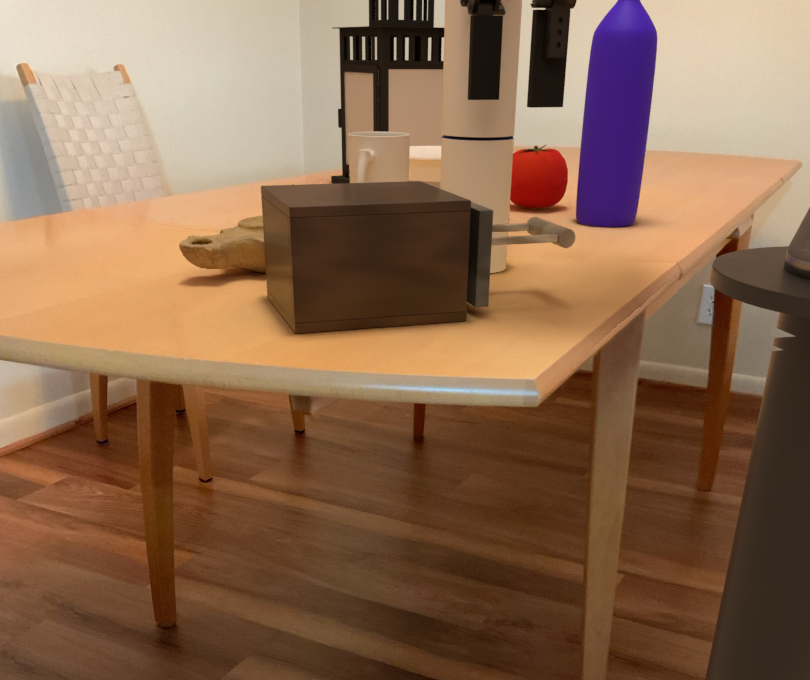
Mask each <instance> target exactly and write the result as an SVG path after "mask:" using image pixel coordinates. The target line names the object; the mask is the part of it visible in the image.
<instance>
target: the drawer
mask: <svg viewBox="0 0 810 680" xmlns="http://www.w3.org/2000/svg"><path fill="white" fill-rule="evenodd" d="M470 212H471V214H470V238H469V262H468V286H467V304H469V305H471V306H472V307H474V308H476V309H477V308H488V307H489V299H490V278H491V273H490V263H491V246H492V245H507V246H509V245H510V246H511V245H527V244H528V245H530V244H531V245H532V244H547V243H548V244H549V243H551V244H553V245H556V246H558V247H561V248H563V249H568V248H571V247H572V246H573V245H574V243H575V242H576V233H575V232H574V230H573V229H571V228H568V227H565V226H563V225H561V224H560V225H559V224H557V223H554V222H551V221H549V220H546V219H544V218H542V217H541V218H540V217H539V216H532V217H530V218H528V220H527V221H526V222H521V223H520V222H519V223H509V224H494V225H493V210H491V209H488V208H486V207H483V206H481V205H478V204H476V203H473V202H471V210H470ZM492 232H508V233H509V232H527V233H528V234H529V235H511V236H509V235H508V236H506V237H492Z"/></svg>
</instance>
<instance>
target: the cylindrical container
mask: <svg viewBox="0 0 810 680" xmlns="http://www.w3.org/2000/svg"><path fill="white" fill-rule="evenodd" d="M501 3H502V5H503V6H504V9H505V11H506V13H505V15H493V16H503V28H502V49H501V69H500V90H499V100H468V76H469V46H470V17H471V15H469V13H468V8H467V7H462V6H461V4H460V0H444V27H443V28H444V37H443V61H444V63H443V102H442V135H444V136H442V141H441V178H440V189H442V190H445V191H447V192H450V193H452V194H455V195H458V196H460V197H463V198H465V199H468V200H471V202H473V203H476V204H478V205H481V206H483V207H486V208H488V209H491V210H493V225H494V224H510V208H511V201H510V194H511V177H512V161H513V153H514V143H515V137H514V136H515V126H516V110H517V94H518V78H519V77H518V75H519V60H520V45H521V44H520V43H521V27H522V11H523V0H501ZM506 236H509V232H492V237H506ZM507 258H508V245H492V246H491V263H490V274H495V273H500V272H503V271H505V270H506V269H507V260H508V259H507Z"/></svg>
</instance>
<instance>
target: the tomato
mask: <svg viewBox="0 0 810 680" xmlns="http://www.w3.org/2000/svg"><path fill="white" fill-rule="evenodd" d="M546 146H547V144H544V145H543V146H541V147H539V146H538V145H534V146H533V148H522V149H518V150H516V151H515V152H513V161H512V177H511V194H510V203H512V204H514V205H515V206H517V207H519V208H522V209H529V210H531V209H549V208H552V207H553V206H555V205H557V204H558V203H560V202H561V200H562V199H563V198H564V196H565V194H566V192H567V187H568V182H569V169H568V165H567V161H566V159H565V157H564V156H563V155H562V154H561V152H560V150H557V149H555V148H545V147H546Z"/></svg>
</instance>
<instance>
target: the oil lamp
mask: <svg viewBox="0 0 810 680" xmlns="http://www.w3.org/2000/svg"><path fill="white" fill-rule="evenodd" d="M178 247H179V250H180V252H181V254H182V256H183V257H184V258H185V260H186V261H187V262H189V263H190V264H191V265H193V266H194V267H197V268H200V269H206V270H225V269H235V268H244V269H248V270H250V271H252V272H256V273H263V274H266V264H265V248H264V231H263V215H256V216H250V217H245V218H242V219H241V220H239V221H238V222H237V225H236V226H234V227H228V228H223V229H220V231H219V234H214V235H190V236H187V238H185V239H182V240H181V241H180V242H179V245H178Z"/></svg>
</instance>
